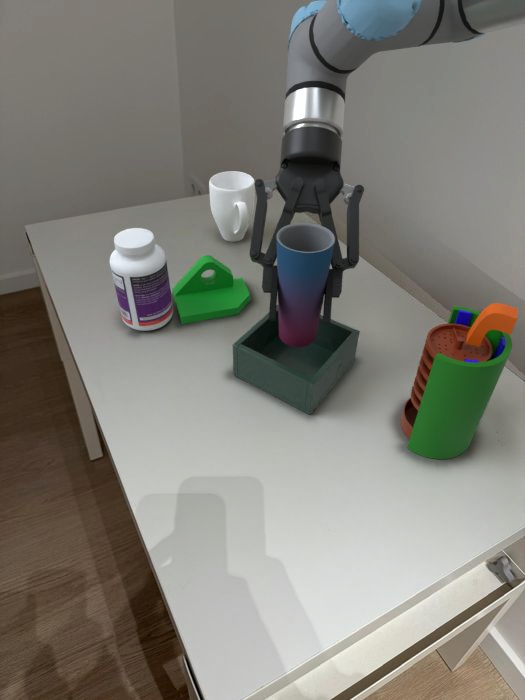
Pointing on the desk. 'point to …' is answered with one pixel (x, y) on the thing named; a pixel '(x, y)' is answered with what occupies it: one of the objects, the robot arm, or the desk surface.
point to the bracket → (209, 292)
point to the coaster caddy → (457, 379)
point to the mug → (232, 203)
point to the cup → (302, 280)
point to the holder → (295, 361)
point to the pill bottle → (141, 280)
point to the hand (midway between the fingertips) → (299, 321)
